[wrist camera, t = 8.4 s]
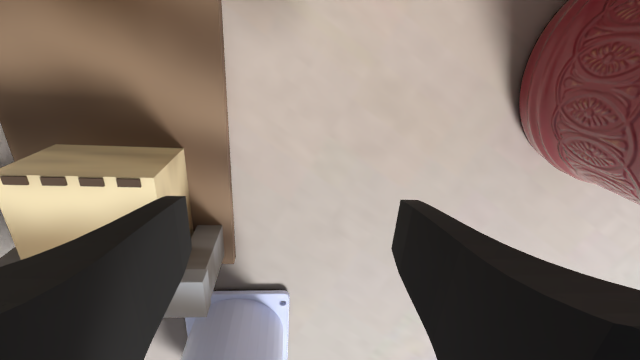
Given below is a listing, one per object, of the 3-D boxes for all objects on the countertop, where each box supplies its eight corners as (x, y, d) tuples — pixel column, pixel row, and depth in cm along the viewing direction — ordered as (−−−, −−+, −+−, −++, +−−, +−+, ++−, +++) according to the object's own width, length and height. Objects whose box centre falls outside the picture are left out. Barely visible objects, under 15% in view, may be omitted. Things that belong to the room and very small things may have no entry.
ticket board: (235, 256, 23) (217, 327, 17) (58, 257, 22) (-24, 333, 16) (219, -36, 16) (178, -81, 10) (-48, -61, 14) (-269, -128, 9)
